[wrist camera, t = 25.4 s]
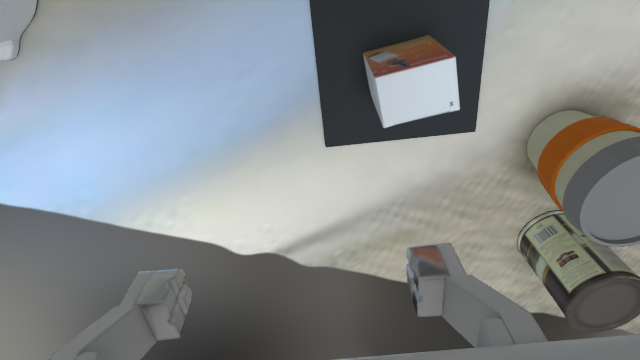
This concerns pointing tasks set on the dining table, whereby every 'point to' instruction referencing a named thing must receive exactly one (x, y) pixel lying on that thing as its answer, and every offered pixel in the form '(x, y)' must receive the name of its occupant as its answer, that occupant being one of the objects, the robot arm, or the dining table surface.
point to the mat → (384, 30)
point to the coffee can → (580, 274)
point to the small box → (412, 80)
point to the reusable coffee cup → (591, 173)
